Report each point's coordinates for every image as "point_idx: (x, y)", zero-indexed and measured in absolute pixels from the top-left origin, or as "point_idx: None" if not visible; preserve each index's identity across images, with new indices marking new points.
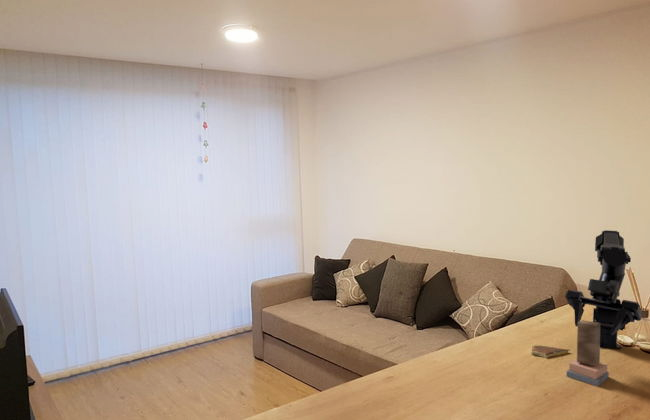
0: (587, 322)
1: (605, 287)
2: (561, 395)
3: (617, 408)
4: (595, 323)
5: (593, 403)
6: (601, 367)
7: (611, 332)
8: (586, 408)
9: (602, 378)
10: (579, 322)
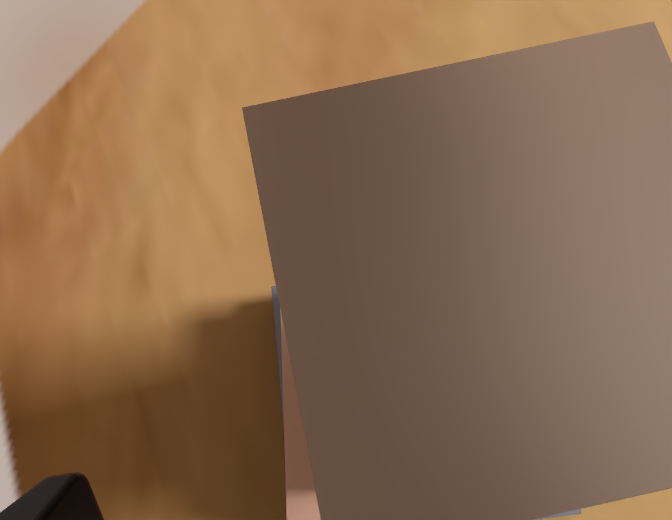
0: (548, 249)
1: None
2: (358, 20)
3: (87, 134)
4: (367, 336)
5: (198, 81)
6: (290, 398)
7: (61, 477)
8: (200, 11)
9: (282, 388)
10: (631, 52)
